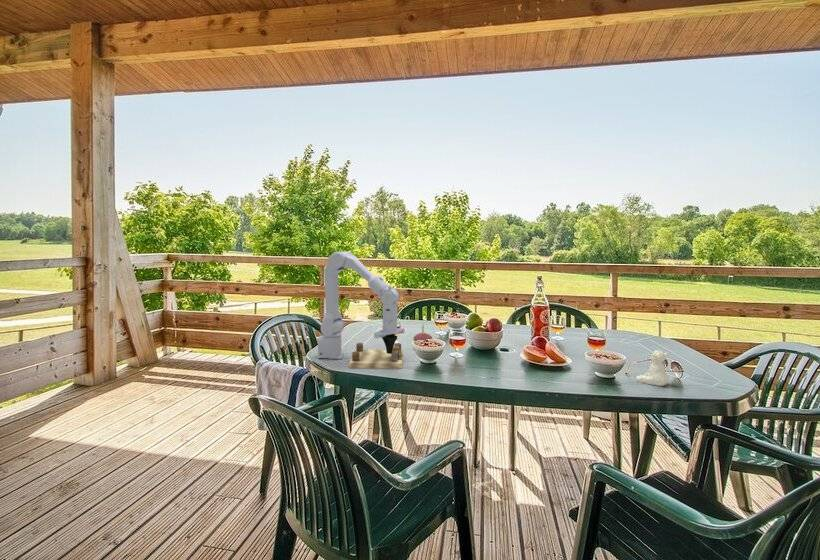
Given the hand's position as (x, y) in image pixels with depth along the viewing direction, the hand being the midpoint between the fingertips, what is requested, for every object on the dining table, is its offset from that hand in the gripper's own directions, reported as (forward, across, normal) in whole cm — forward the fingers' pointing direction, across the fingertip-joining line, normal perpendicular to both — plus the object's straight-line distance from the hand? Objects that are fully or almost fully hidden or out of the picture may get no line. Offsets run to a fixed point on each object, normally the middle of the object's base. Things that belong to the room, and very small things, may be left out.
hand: (389, 353), depth 171 cm
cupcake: (+4, +26, +6) cm, 26 cm away
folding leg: (+1, +1, -2) cm, 3 cm away
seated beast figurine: (+3, +50, -82) cm, 96 cm away
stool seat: (+4, -2, +5) cm, 6 cm away
